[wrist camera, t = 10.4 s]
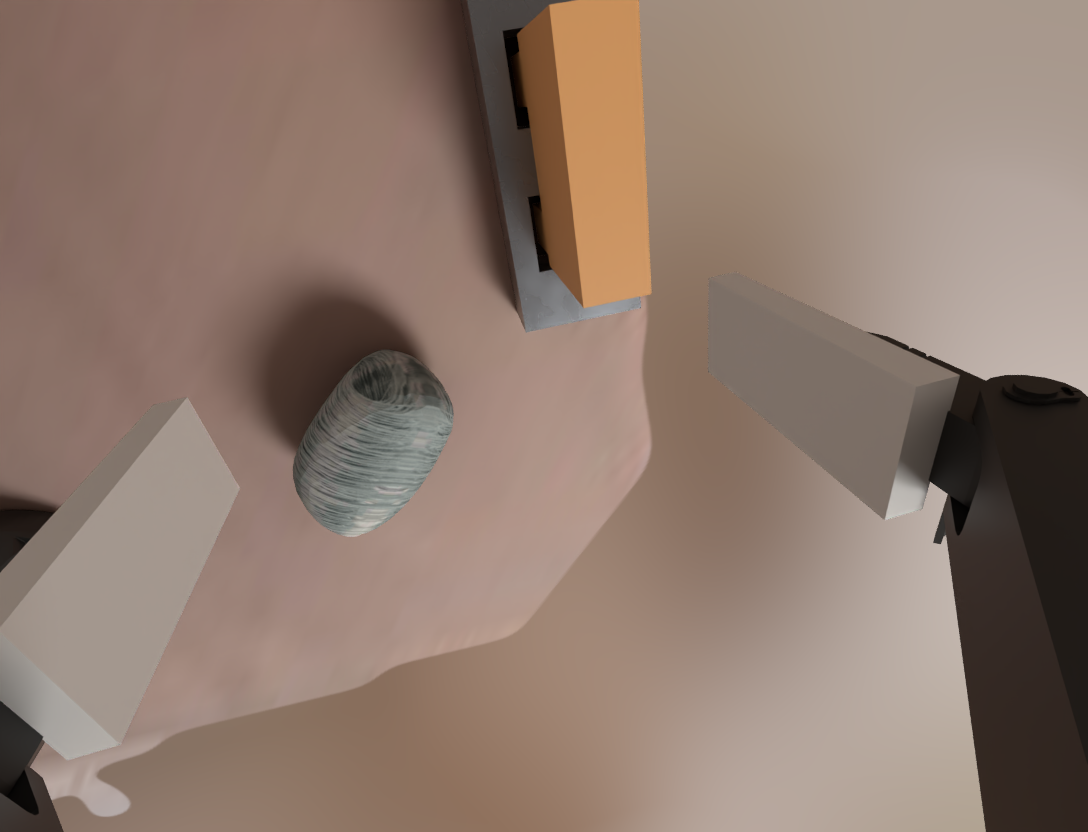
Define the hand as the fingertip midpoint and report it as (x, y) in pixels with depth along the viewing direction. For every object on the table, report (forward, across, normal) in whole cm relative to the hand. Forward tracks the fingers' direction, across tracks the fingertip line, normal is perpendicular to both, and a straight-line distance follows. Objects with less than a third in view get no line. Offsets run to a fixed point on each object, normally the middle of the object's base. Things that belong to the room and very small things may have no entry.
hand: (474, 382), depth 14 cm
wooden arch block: (+24, +8, +3) cm, 25 cm away
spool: (+25, -8, -13) cm, 29 cm away
